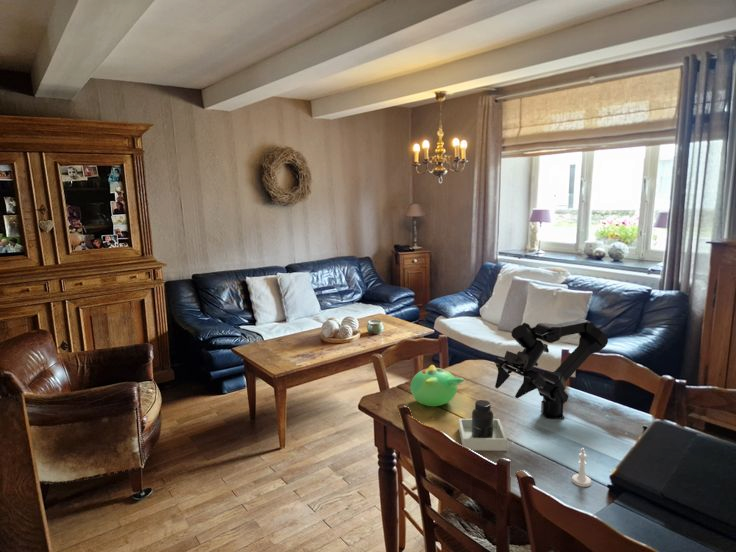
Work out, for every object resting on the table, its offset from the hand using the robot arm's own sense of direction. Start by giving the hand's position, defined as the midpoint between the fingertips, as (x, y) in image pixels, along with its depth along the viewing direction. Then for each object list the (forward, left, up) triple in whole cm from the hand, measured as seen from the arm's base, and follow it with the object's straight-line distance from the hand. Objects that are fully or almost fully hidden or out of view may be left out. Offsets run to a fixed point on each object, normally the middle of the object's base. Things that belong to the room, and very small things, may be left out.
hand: (505, 392), depth 156 cm
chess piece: (-15, +28, -14) cm, 35 cm away
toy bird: (+23, -20, -14) cm, 33 cm away
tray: (+9, +6, -14) cm, 17 cm away
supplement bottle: (+9, +6, -13) cm, 17 cm away
